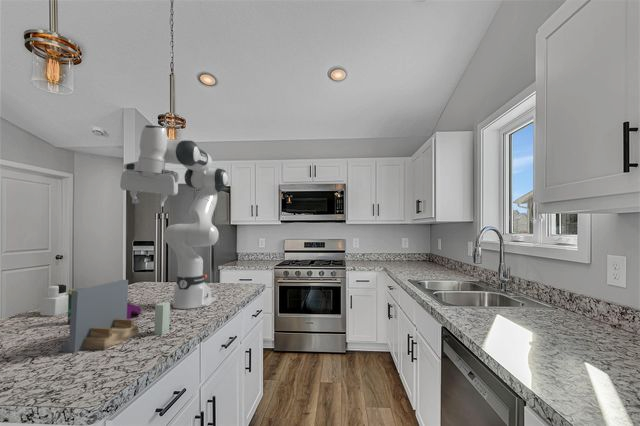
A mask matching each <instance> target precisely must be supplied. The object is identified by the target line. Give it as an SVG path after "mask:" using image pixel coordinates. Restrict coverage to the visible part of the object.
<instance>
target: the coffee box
mask: <svg viewBox="0 0 640 426" xmlns="http://www.w3.org/2000/svg"><path fill="white" fill-rule="evenodd" d="M78 289H82V288H71V289H68V290H67V291H68V294H67V295H68V312H67V325H69V326H70V318H71V298H72V291H73V290H78Z"/></svg>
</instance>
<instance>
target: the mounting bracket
mask: <svg viewBox="0 0 640 426" xmlns="http://www.w3.org/2000/svg"><path fill="white" fill-rule="evenodd" d="M141 311H142V307H140V306H137V305H134V304H132V303H130V302H127V319H131V315H132V316H133V315H135V316H138V315H141V313H142V312H141Z"/></svg>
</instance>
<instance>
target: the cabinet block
mask: <svg viewBox="0 0 640 426" xmlns="http://www.w3.org/2000/svg"><path fill="white" fill-rule="evenodd" d="M170 316H171V302H168V301H167V302H164V301H163V302H160V303H157V304H154V331H153V332H154V335H164V334H165V333H168V332H170V325H171V324H170V322H171V320H170V319H171V317H170Z"/></svg>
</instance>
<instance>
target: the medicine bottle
mask: <svg viewBox="0 0 640 426" xmlns="http://www.w3.org/2000/svg"><path fill="white" fill-rule="evenodd" d="M46 295H47V296H46V297H45V296H44V297H41V300H40V316H44V317H45V316H47V317H50V316H51V317H56V316H60V315H63V314H64V315H65V314H68V294H67V285H66V284H53V285H49V286H48V287H47V294H46Z"/></svg>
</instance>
